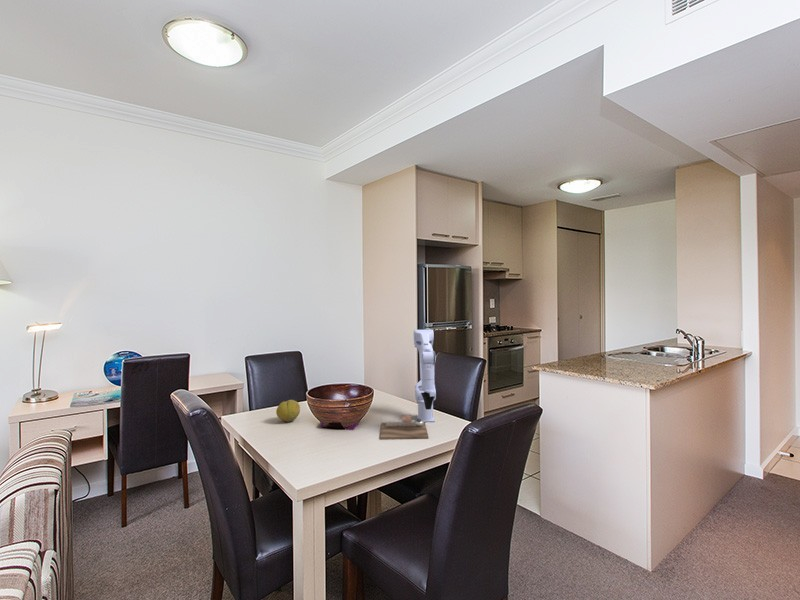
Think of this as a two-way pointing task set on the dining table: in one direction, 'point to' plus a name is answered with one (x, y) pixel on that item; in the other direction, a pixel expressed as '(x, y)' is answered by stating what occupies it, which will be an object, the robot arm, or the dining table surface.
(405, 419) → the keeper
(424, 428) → the base plate
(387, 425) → the link
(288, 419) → the fruit
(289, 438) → the dining table surface
